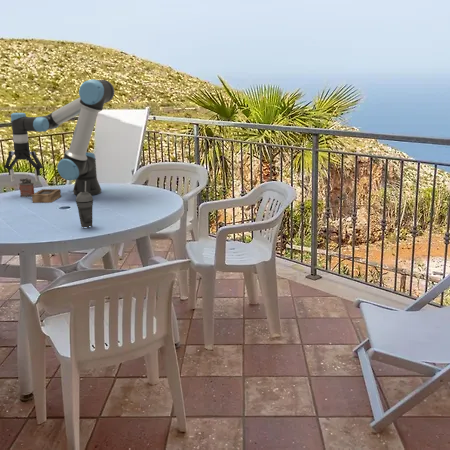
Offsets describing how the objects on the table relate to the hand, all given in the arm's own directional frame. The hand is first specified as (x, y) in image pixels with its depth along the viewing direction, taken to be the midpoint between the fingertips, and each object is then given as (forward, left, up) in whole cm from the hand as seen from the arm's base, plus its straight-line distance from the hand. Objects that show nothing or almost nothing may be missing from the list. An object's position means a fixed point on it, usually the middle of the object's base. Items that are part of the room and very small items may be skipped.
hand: (25, 181), depth 278 cm
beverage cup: (-52, +61, -9) cm, 81 cm away
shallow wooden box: (-14, +8, -9) cm, 19 cm away
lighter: (0, 0, -9) cm, 9 cm away
